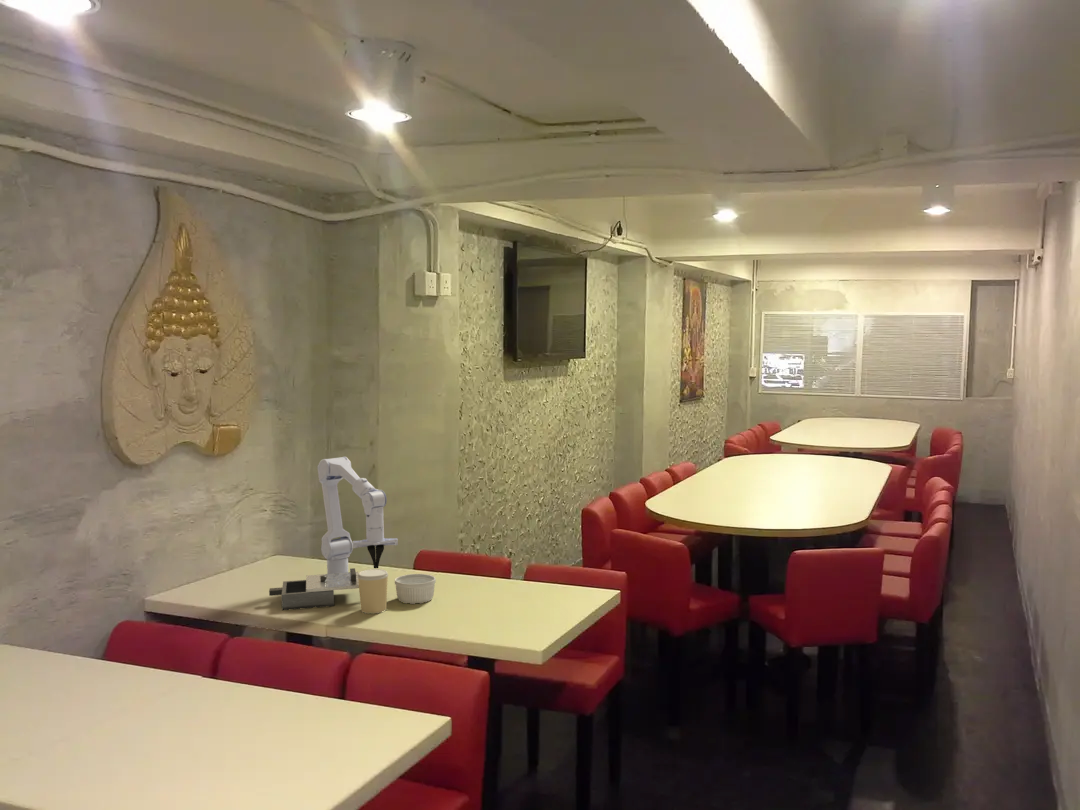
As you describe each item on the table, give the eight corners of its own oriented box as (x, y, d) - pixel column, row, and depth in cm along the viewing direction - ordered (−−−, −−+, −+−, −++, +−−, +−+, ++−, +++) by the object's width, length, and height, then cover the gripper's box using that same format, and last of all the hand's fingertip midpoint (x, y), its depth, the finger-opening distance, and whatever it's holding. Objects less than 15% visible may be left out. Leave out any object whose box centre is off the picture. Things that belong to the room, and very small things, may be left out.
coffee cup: (392, 605, 278) (391, 568, 277) (384, 615, 269) (383, 576, 268) (363, 605, 279) (362, 568, 278) (354, 614, 270) (353, 576, 269)
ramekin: (431, 592, 293) (431, 571, 293) (439, 603, 281) (439, 581, 281) (392, 596, 289) (391, 575, 289) (398, 607, 277) (398, 585, 276)
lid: (306, 578, 292) (306, 568, 292) (358, 574, 296) (357, 564, 296) (306, 592, 276) (305, 581, 275) (360, 588, 280) (360, 577, 280)
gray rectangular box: (271, 597, 289) (270, 582, 289) (333, 592, 294) (332, 577, 294) (268, 611, 274) (268, 595, 273) (334, 606, 279) (333, 590, 278)
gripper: (353, 531, 283) (354, 572, 284) (398, 528, 286) (399, 568, 287) (352, 526, 289) (353, 567, 290) (396, 524, 293) (397, 563, 294)
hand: (376, 567), depth 289 cm, fingers closed
